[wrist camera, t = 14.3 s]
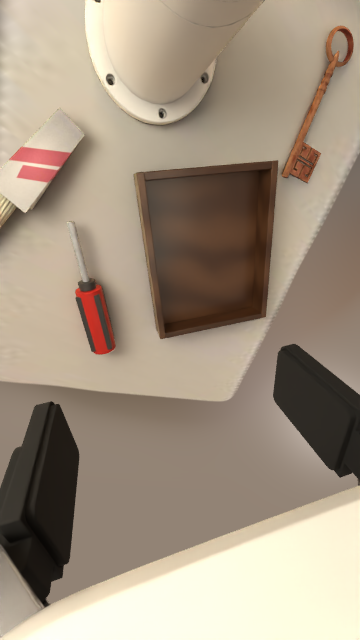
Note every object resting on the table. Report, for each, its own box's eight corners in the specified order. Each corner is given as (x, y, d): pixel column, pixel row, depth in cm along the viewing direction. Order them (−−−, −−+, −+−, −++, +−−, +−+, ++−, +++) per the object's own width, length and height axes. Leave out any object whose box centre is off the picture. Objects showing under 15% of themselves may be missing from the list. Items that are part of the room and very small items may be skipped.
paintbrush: (88, 138, 25) (-34, 282, 28) (90, 141, 27) (-23, 274, 31) (52, 97, 23) (-74, 257, 26) (57, 105, 25) (-59, 251, 29)
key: (302, 187, 36) (364, 51, 30) (306, 187, 35) (371, 48, 30) (271, 170, 33) (333, 19, 28) (275, 170, 32) (340, 14, 27)
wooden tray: (133, 174, 30) (136, 172, 27) (263, 162, 33) (278, 160, 30) (156, 328, 39) (160, 339, 37) (255, 308, 42) (266, 317, 40)
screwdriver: (60, 221, 30) (50, 225, 27) (87, 218, 30) (81, 221, 27) (95, 343, 38) (90, 356, 35) (116, 340, 38) (114, 353, 35)
